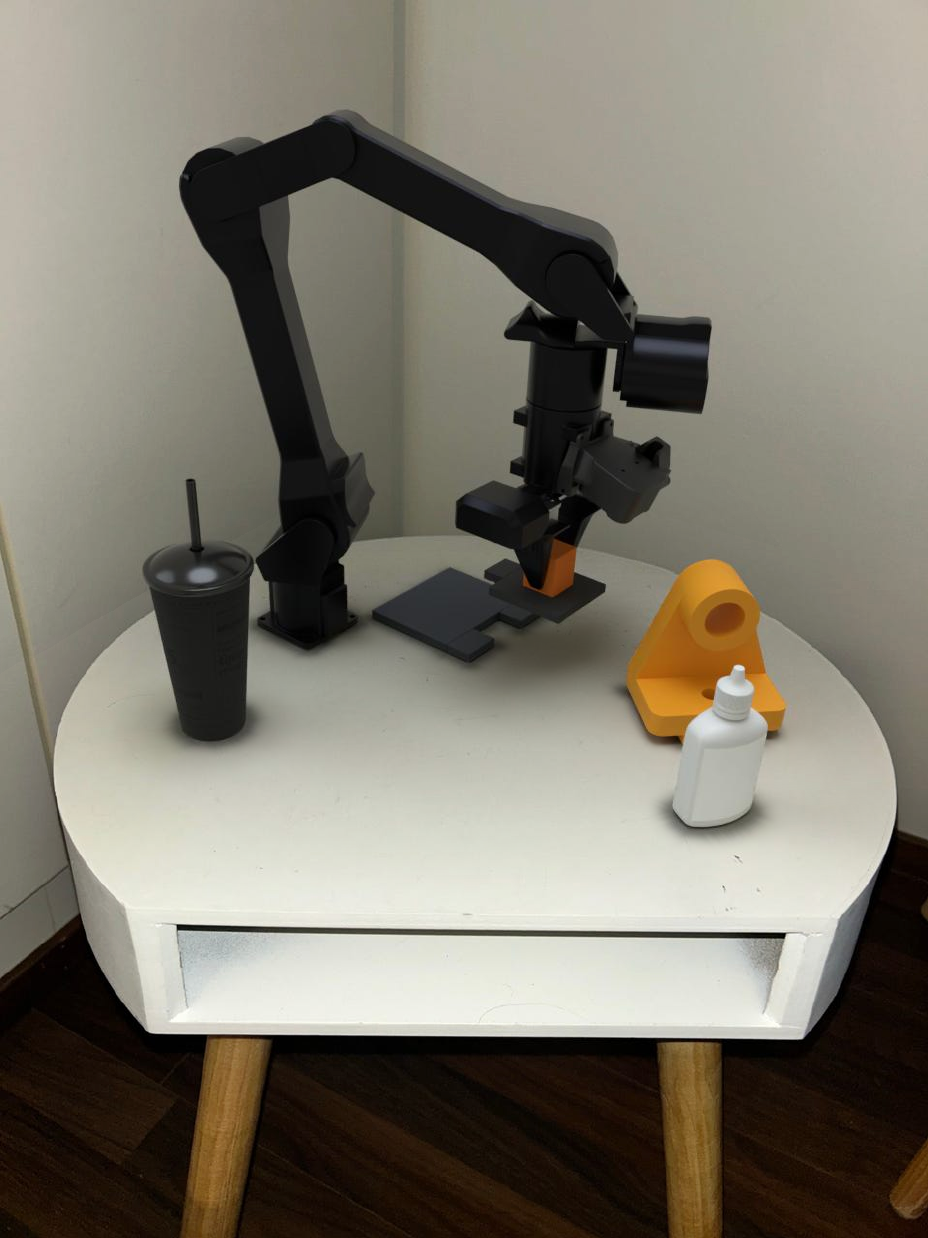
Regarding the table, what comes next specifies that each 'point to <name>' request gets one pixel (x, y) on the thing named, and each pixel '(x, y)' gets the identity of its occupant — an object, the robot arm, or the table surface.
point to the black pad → (535, 600)
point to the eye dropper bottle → (721, 756)
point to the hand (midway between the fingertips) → (547, 580)
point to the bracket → (700, 651)
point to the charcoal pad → (451, 613)
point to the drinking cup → (203, 626)
